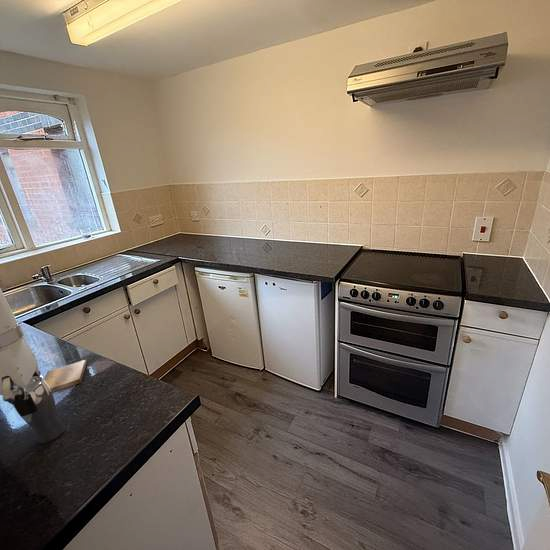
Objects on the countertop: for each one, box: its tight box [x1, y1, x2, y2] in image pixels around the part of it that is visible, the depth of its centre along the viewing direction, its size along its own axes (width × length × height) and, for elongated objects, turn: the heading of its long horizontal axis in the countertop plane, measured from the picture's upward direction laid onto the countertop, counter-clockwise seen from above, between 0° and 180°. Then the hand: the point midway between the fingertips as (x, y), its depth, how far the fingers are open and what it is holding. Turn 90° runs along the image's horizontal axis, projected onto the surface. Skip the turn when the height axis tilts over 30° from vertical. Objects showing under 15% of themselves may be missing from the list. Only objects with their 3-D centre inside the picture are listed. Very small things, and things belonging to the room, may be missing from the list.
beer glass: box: [12, 375, 67, 445], centre depth 71 cm, size 7×7×15 cm
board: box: [43, 359, 87, 393], centre depth 94 cm, size 11×11×2 cm
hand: (34, 401), depth 70 cm, fingers closed on beer glass, 7 cm apart
